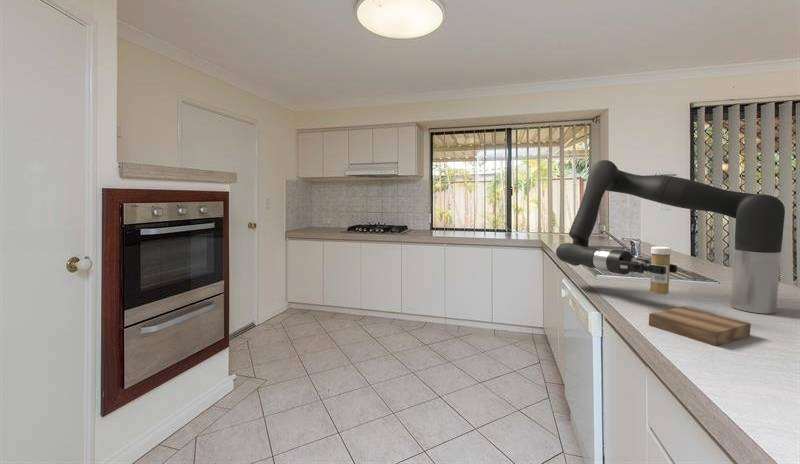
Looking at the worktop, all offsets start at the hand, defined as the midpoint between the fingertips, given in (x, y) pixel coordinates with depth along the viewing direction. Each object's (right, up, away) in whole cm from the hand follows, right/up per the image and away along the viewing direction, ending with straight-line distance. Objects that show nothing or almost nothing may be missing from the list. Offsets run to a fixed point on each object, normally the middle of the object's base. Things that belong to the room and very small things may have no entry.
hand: (670, 269), depth 96 cm
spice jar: (-1, -7, +3) cm, 8 cm away
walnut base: (-3, -14, -12) cm, 18 cm away
